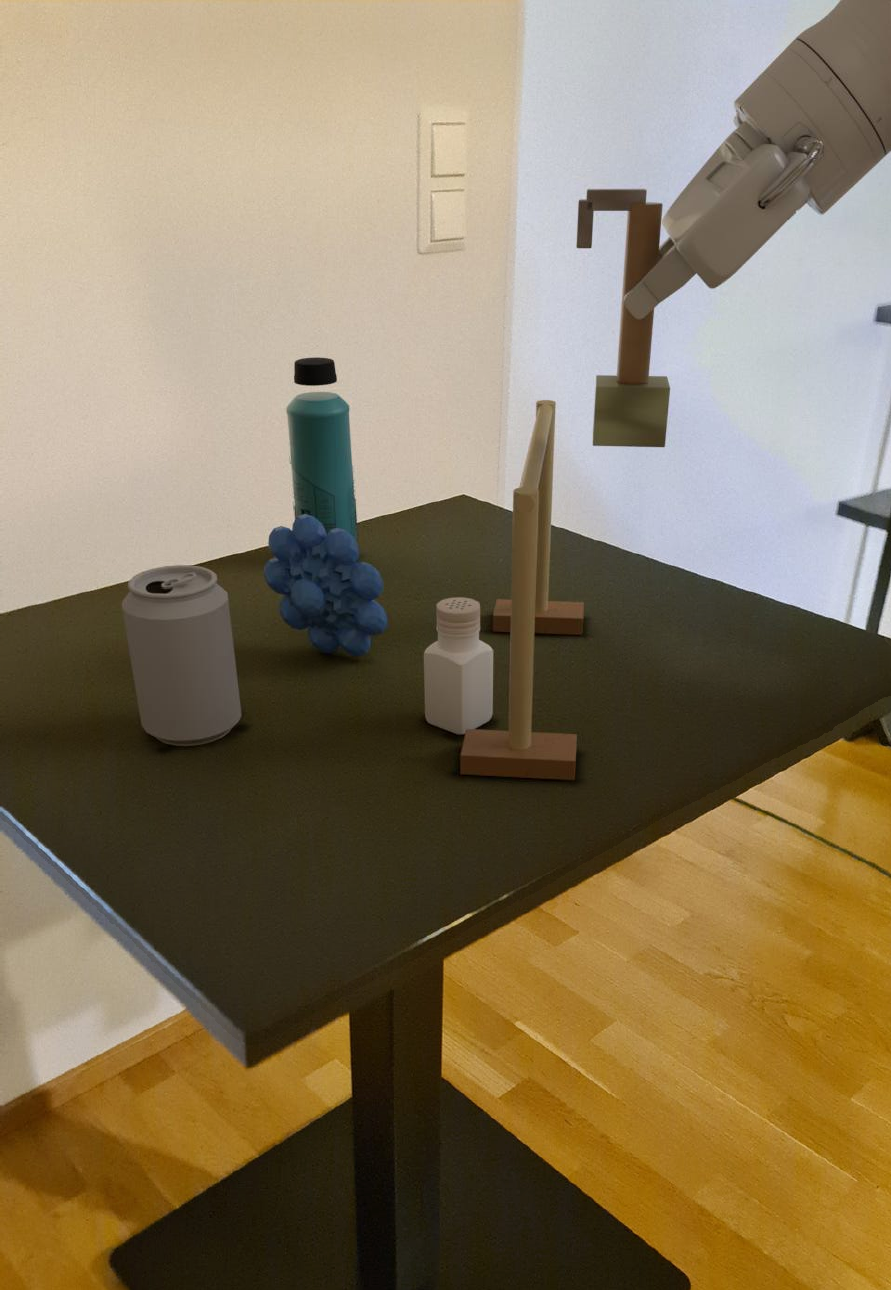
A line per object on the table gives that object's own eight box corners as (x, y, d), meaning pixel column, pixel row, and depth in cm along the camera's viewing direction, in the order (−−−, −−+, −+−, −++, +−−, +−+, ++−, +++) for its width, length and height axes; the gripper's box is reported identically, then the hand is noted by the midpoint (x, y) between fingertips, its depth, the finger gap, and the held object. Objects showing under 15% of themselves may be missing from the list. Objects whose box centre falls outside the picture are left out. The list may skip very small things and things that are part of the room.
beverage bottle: (371, 555, 120) (362, 356, 110) (333, 573, 115) (320, 367, 105) (322, 545, 123) (309, 350, 113) (283, 562, 118) (266, 361, 108)
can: (136, 715, 88) (111, 567, 82) (232, 699, 90) (214, 554, 84) (150, 758, 82) (124, 602, 76) (252, 740, 84) (235, 587, 78)
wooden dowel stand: (583, 618, 104) (595, 397, 94) (574, 780, 79) (589, 501, 69) (496, 615, 105) (499, 396, 95) (460, 774, 79) (459, 498, 69)
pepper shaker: (462, 739, 84) (461, 619, 79) (422, 724, 86) (419, 606, 81) (495, 720, 87) (497, 603, 82) (455, 705, 89) (455, 590, 84)
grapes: (244, 660, 97) (228, 523, 91) (287, 632, 102) (275, 500, 96) (363, 684, 92) (355, 541, 86) (401, 653, 98) (396, 517, 91)
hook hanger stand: (662, 433, 82) (683, 187, 74) (664, 447, 79) (688, 191, 71) (568, 432, 83) (579, 187, 75) (566, 445, 79) (578, 191, 71)
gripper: (863, 188, 62) (667, 371, 68) (805, 172, 80) (653, 320, 86) (792, 94, 60) (597, 291, 66) (749, 99, 78) (597, 255, 84)
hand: (628, 307), depth 76 cm, fingers closed on hook hanger stand, 2 cm apart
